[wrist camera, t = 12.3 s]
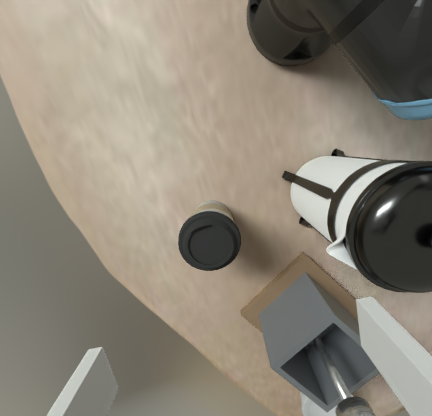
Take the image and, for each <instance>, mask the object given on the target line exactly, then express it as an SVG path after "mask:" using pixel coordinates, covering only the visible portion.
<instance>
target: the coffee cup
mask: <svg viewBox="0 0 432 416" xmlns="http://www.w3.org/2000/svg"><path fill="white" fill-rule="evenodd" d="M178 245H179V250H180V253H181V255H182V257H183V258H184V260H185V261H186V262H187V263H188V264H190V265H191V266H193V267H195V268H197V269H200V270H205V271H213V270H218V269H221V268H223V267H225V266H227V265H228V264H230V263H231V262H232V261H233V260H234V259H235V258H236V256H237V254H238V252H239V249H240V245H241V236H240V232H239V229H238V227H237V226H236V224H235V221H234V219H233V217H232V215H231V213H230V212H229V211H228V209H227V207H226V206H225V205H224V204H222V203H220V202H218V201H206V202H204V203H202V204H201V205H200V206H199V207H198V208H197V209H196V210H195V211H194V212H193V213H192V215H191V216H190V217H189V218H188V220H187V221H186V222H185V223H184V224H183V226H182V228H181V230H180V233H179V242H178Z"/></svg>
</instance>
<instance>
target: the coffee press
mask: <svg viewBox="0 0 432 416" xmlns="http://www.w3.org/2000/svg"><path fill="white" fill-rule="evenodd" d="M282 178H285V179H287V180H289V181H291V182H292V185H291V200H292V203H293V206H294V208H295V209H296V211H297V212H298V213H299V214H300V215H301V216H302V217H301V218H300V221H299V223H300V224H302V225H304V226H308V225H311V226H312V227H313V228H314V229H316V230H317V231H318V232H319V233H320V234H321V235H322V236H324V237H325V238H326V239H327V240H328V241H329V242H330V243H332V244H330V245H329V246H328V247H327V249H326V251H327V253H328V254H330V255H331V256H333V257H334V258H336V259H338V260H340V261H342V262H344V263H346V264H348V265H349V266H351V267H353V268H355V269H356V270H358V271H359V272H360V273H361V274H362V275H363V276H364V277H366V278H367V279H368V280H369V281H371V282H372V283H374V284H375V285H377V286H379V287H382V288H384V289H387V290H391V291H396V292H413V293H425V292H432V161H402V160H382V159H371V158H359V157H348V156H344V152H343V151H341V150H338V149H335V150H334V151H333V152H332V155H331V156H323V157H318V158H315V159H313V160H311V161H309V162H307V163H306V164H304V165H303V166H302V167H301V168H300V169H299V170H298V172H297V173H296V175H295V174H292V173H290V172H287V171H284V174H283V176H282Z"/></svg>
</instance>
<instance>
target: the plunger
mask: <svg viewBox="0 0 432 416" xmlns="http://www.w3.org/2000/svg"><path fill="white" fill-rule="evenodd" d="M335 326H336V324H335V323H332V324H331V325H330V326H329V327H327V328H326V329H325V330H324V331H323V332H321V333H320V334H319V335H318V336H317V337H316V338H314V339H313V340H312V341H311V342H310V343H308V344H307V345H306V346H305V347H304V349H306V350H307V349H309V348H310V347H311V346H312V345H313V344H315V346H316V348H317V350H318V352H319V354H320V356H321V358H322V360H323V362H324V364H325V366H326V368H327V371H328V373H329V375H330V377H331V379H332V381H333V383H334V385H335V387H336V389H337V391H338V393H339V396H340V398H341V400H342V401H341V402H340V403H339V404H338V405H337V407H336V411H335V413H336V416H376V415H375V414H374V412H373V410H372V408H371V407H370V405H369V403H368V402H367V401H366V400H365V399H363V398H360V397H352V396H351V394H350V393H349V391H348V389H347V387H346V385H345V383H344V381H343V379H342V377H341V375H340V374H339V372H338V370H337V368H336V366H335V364H334V362H333V360H332V358H331V356H330V355H329V353H328V351H327V349H326V347H325V345H324V343H323V341H322V339H321V338H322V337H323V336H324V335H325V334H326V333H328V332H329V331H330V330H331V329H332V328H334V327H335Z"/></svg>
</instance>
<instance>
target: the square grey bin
mask: <svg viewBox="0 0 432 416" xmlns="http://www.w3.org/2000/svg"><path fill="white" fill-rule="evenodd" d="M241 316H243V317H244V318H245V319H246V320H248V321H249V322H250V323H251V324H252V325H254V326H255V327H256V328H257V329H259V330H260V331H261V332H262V333H263V337H264V341H265V345H266V350H267V354H268V358H269V362H270V367H271V368H272V369H273V370H274V371H275V372H277V373H278V374H279V375H280V376H282V377H283V378H284V379H285V380H287V381H288V382H289V383H290V384H292V385H293V386H294V387H296V388H297V389H298V390H299V391H301V392H302V393H303V394H304V395H306V396H307V397H308V398H309V399H311V400H312V401H313V402H314V403H316V404H317V405H318V406H319V407H321V408H322V409H323V410H324V411H326V412H329V411H330V410H331V409H333V408H334V407H335V406H337V405H338V404H339V403H340V402H341V401H342V400H341V398H340V396H339V393H338V391H337V389H336V387H335V385H334V383H333V381H332V379H331V377H330V375H329V373H328V371H327V368H326V366H325V364H324V362H323V360H322V358H321V356H320V354H319V352H318V350H317V348H316V346H315V344H313V345H312V346H311V347H310V348H309V349H307V350H306V349H304V347H305V346H306V345H307V344H308V343H310V342H311V341H312V340H313V339H314V338H316V337H317V336H318V335H319V334H320V333H321V332H323V331H324V330H325V329H326V328H327V327H329V326H330V325H331V324H332V323H335V324H336V326H335V327H334V328H332V329H331V330H330V331H329V332H328V333H326V334H325V335H324V336H323V337H322V338H321V339H322V341H323V343H324V345H325V347H326V349H327V351H328V353H329V355H330V356H331V358H332V360H333V362H334V364H335V366H336V368H337V370H338V372H339V374H340V375H341V377H342V379H343V381H344V383H345V385H346V387H347V389H348V391H349V393H350V394H352V393H354V392H355V391H356V390H358V389H359V388H360V387H362V386H363V385H364V384H365V383H367V382H368V381H369V380H371V379H372V378H373V377H375V376H376V375H377V374H379V373H380V372H379V370H378V369H377V368H376V366H375V365H374V363H373V362H372V361H371V359H370V358H369V356H368V355H367V354H366V352H365V351H364V349H363V348H362V346H361V340H360V332H359V323H358V322H357V321H356V320H357V319H358V314H357V305H356V300H355V299H354V298H353V297H352V296H351V295H350V294H349V293H348V292H347V291H346V290H345V289H343V288H342V287H341V286H340V285H339V284H338V283H337V282H336V281H335V280H334V279H332V278H331V277H330V276H329V275H328V274H327V273H326V272H325V271H324V270H323V269H322V268H320V267H319V266H318V265H317V264H316V263H315V262H314V261H313V260H312V259H311V258H310V257H308V256H307V255H306V254H305V253H304V252H303V253H302V254H301V255H300V256H298V257H297V258H296V259H295V260H294V261H293V262H292V263H291V264H290V265H289V266H288V267H287V268H286V269H285V270H283V271H282V272H281V273H280V274H279V275H278V276H277V277H276V278H275V279H274V280H273V281H272V282H271V283H270V284H269V285H267V286H266V287H265V288H264V289H263V290H262V291H261V292H260V293H259V294H258V295H257V296H256V297H255V298H254V299H252V300H251V301H250V302H249V303H248V304H247V305H246V306H245V307H244V308H243V309H242V310H241Z"/></svg>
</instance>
